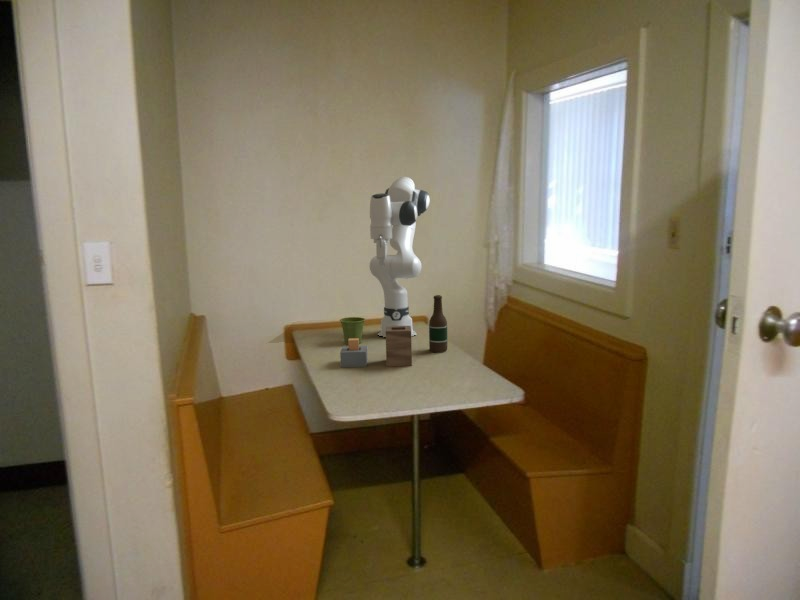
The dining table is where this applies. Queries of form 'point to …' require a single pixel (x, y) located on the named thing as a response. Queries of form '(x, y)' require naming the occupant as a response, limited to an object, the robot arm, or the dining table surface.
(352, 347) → the peg
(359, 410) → the dining table surface
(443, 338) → the beer bottle
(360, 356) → the low socket
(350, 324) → the plant pot
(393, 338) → the wood block with hole
